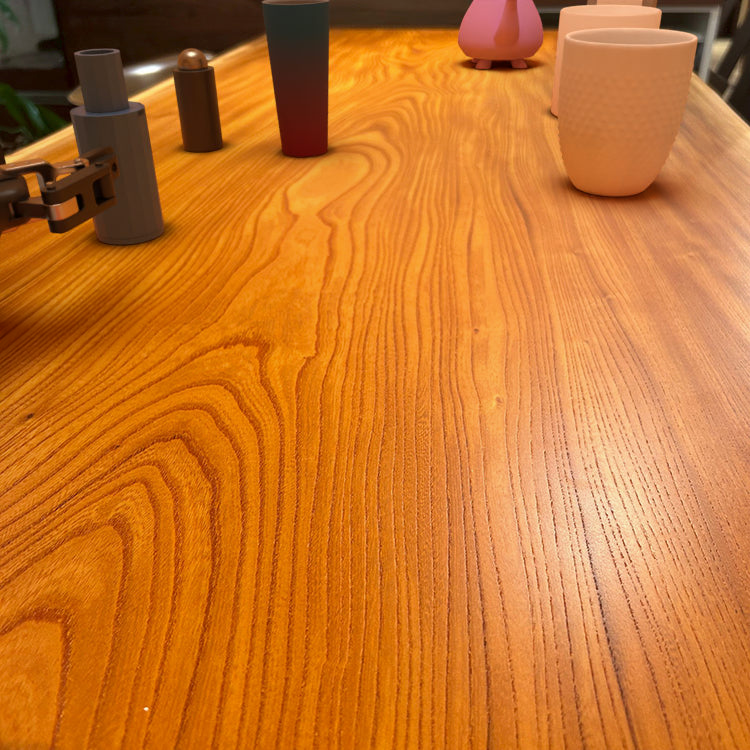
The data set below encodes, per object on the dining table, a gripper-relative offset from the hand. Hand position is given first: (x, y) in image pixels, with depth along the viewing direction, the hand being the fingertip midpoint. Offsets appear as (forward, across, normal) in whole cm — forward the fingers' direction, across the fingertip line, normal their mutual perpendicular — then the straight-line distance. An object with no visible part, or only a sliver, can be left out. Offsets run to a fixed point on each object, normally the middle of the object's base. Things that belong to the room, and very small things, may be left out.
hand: (54, 158), depth 53 cm
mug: (+28, -39, +8) cm, 49 cm away
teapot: (+93, -24, +9) cm, 96 cm away
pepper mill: (+35, +5, +8) cm, 36 cm away
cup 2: (+58, -39, +8) cm, 70 cm away
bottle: (+8, 0, +8) cm, 11 cm away
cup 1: (+35, -7, +8) cm, 37 cm away
